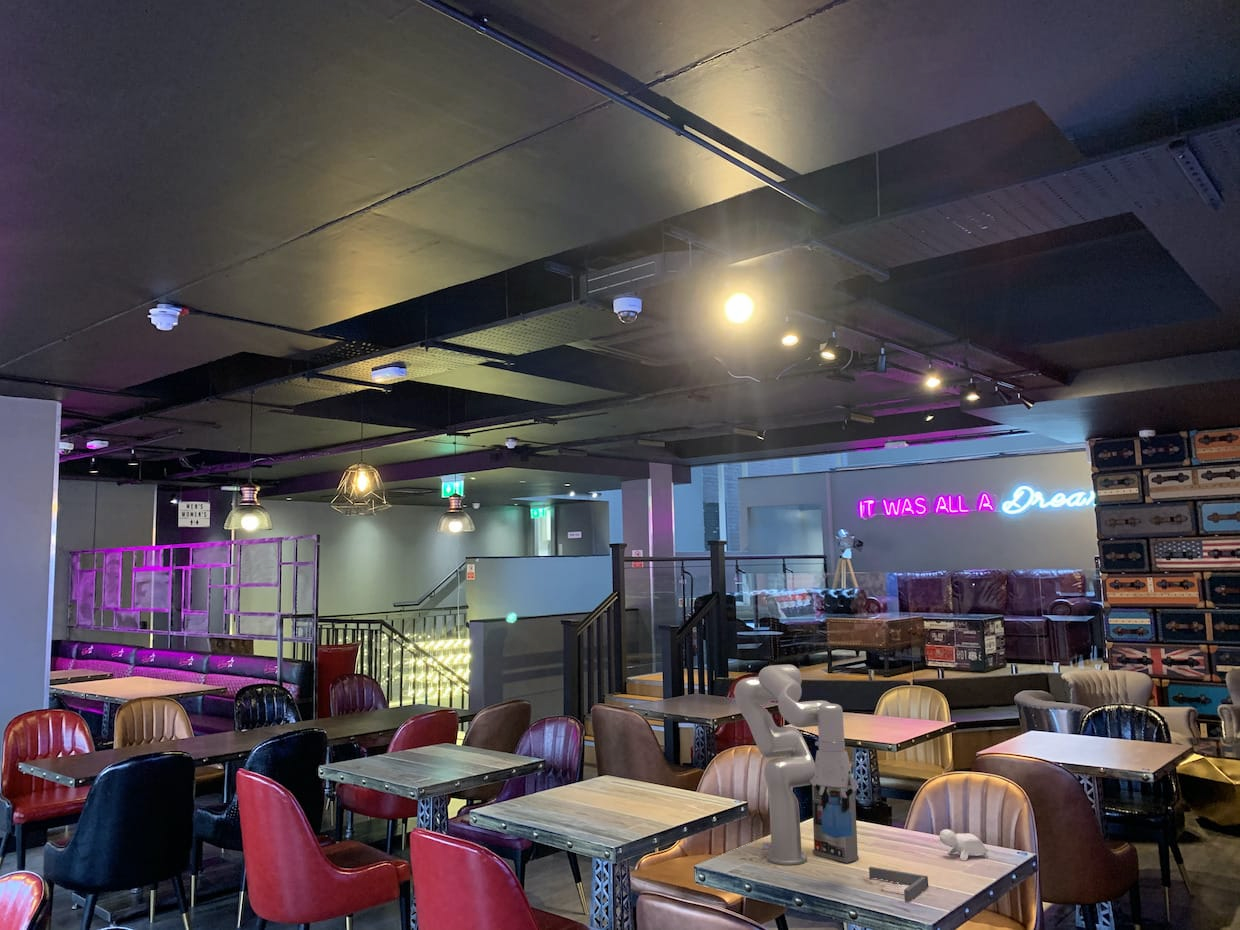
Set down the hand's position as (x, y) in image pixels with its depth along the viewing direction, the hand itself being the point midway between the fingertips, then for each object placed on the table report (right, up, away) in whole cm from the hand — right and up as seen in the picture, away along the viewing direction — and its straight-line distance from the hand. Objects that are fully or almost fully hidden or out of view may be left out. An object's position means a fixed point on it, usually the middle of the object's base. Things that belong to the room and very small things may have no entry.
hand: (835, 809), depth 260 cm
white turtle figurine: (+46, -24, +20) cm, 55 cm away
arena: (+13, -20, -8) cm, 25 cm away
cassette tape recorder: (+6, -25, +23) cm, 34 cm away
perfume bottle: (0, -7, -1) cm, 7 cm away
